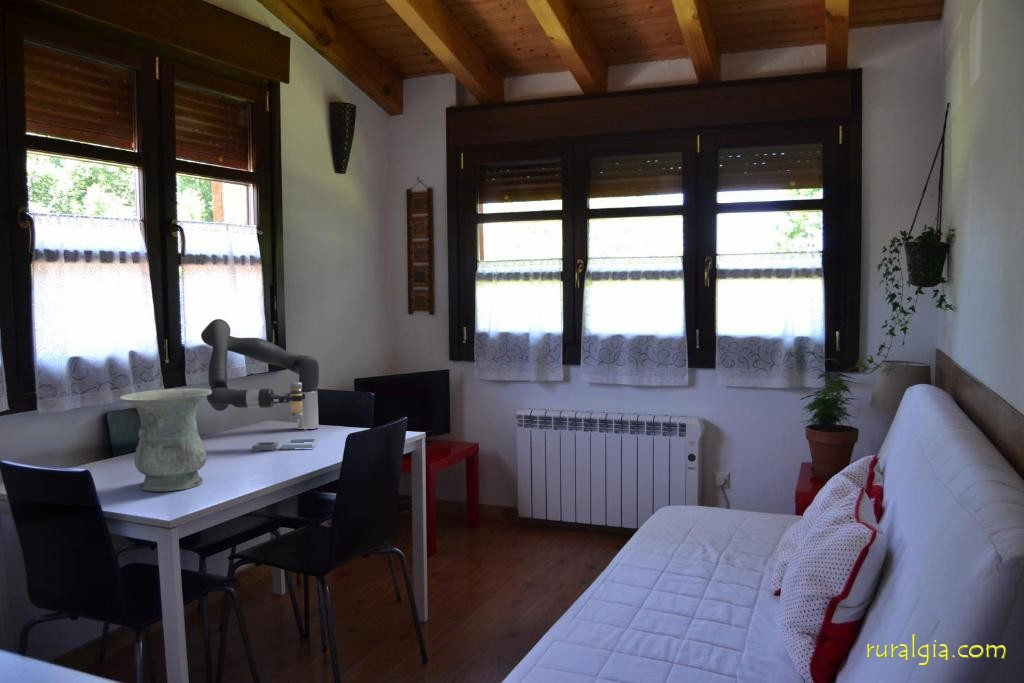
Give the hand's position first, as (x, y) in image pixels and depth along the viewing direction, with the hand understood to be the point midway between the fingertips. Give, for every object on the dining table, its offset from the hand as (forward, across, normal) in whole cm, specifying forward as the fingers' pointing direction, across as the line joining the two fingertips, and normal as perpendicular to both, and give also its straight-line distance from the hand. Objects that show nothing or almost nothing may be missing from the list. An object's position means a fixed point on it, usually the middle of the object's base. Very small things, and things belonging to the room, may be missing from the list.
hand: (303, 397), depth 302 cm
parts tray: (-2, 0, +20) cm, 20 cm away
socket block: (-15, -3, +20) cm, 25 cm away
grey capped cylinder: (-3, 0, +8) cm, 8 cm away
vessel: (-30, -58, +20) cm, 68 cm away
